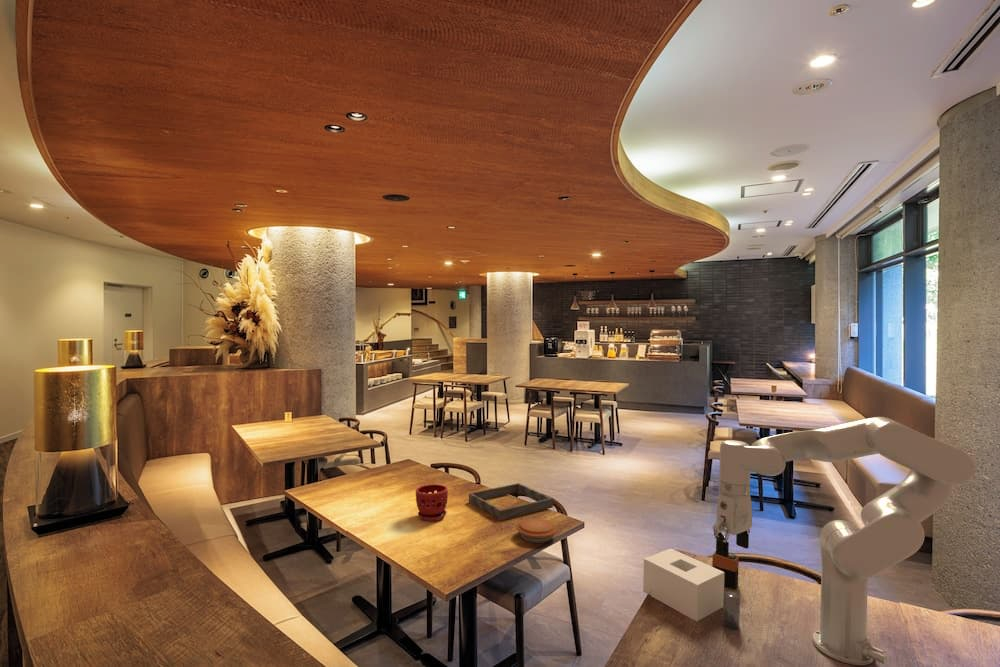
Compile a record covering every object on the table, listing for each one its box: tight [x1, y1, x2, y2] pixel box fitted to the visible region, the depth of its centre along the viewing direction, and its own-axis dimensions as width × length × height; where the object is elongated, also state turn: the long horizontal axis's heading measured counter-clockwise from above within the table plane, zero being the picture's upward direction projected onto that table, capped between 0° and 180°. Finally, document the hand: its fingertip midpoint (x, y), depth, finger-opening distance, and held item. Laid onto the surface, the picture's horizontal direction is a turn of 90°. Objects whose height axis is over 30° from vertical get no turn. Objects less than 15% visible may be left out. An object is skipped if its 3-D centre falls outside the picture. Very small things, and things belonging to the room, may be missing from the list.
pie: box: [515, 518, 558, 544], centre depth 187 cm, size 15×16×5 cm
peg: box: [722, 591, 741, 631], centre depth 132 cm, size 4×4×8 cm
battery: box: [711, 550, 740, 590], centre depth 154 cm, size 4×7×10 cm, turn 52°
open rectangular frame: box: [468, 482, 554, 522], centre depth 219 cm, size 25×28×4 cm
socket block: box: [642, 548, 725, 622], centre depth 145 cm, size 18×13×10 cm
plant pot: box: [415, 483, 449, 522], centre depth 203 cm, size 13×13×12 cm
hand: (732, 550), depth 132 cm, fingers open, 9 cm apart
